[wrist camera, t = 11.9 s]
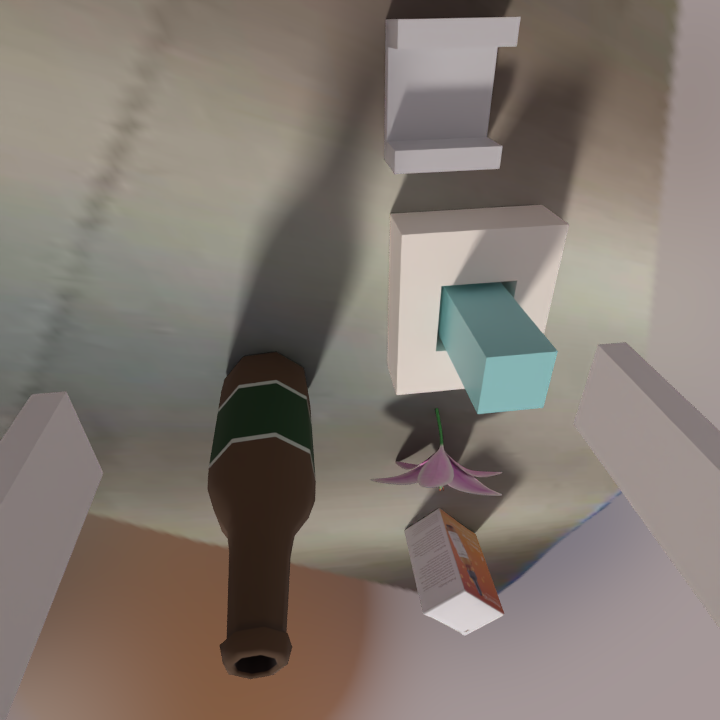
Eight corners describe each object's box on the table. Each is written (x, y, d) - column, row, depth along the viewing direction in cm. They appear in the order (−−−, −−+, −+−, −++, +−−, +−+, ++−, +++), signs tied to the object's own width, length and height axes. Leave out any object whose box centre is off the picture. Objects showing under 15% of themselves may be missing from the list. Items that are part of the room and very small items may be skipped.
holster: (385, 19, 30) (398, 19, 27) (495, 17, 31) (520, 17, 28) (384, 159, 35) (394, 174, 32) (479, 155, 36) (499, 168, 32)
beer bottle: (320, 357, 44) (350, 629, 24) (299, 422, 48) (310, 701, 28) (231, 340, 42) (186, 623, 22) (216, 409, 46) (167, 701, 26)
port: (390, 213, 37) (402, 236, 34) (541, 204, 38) (570, 225, 35) (387, 364, 45) (396, 396, 42) (513, 353, 46) (533, 383, 43)
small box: (475, 532, 62) (506, 615, 53) (440, 554, 64) (465, 637, 55) (439, 506, 58) (466, 590, 50) (402, 529, 60) (422, 615, 51)
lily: (348, 427, 51) (362, 524, 47) (430, 383, 43) (456, 495, 39) (428, 435, 58) (446, 520, 54) (511, 399, 50) (539, 495, 46)
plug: (436, 273, 40) (486, 357, 30) (490, 269, 40) (557, 351, 30) (432, 322, 42) (477, 414, 32) (483, 318, 43) (543, 407, 33)
